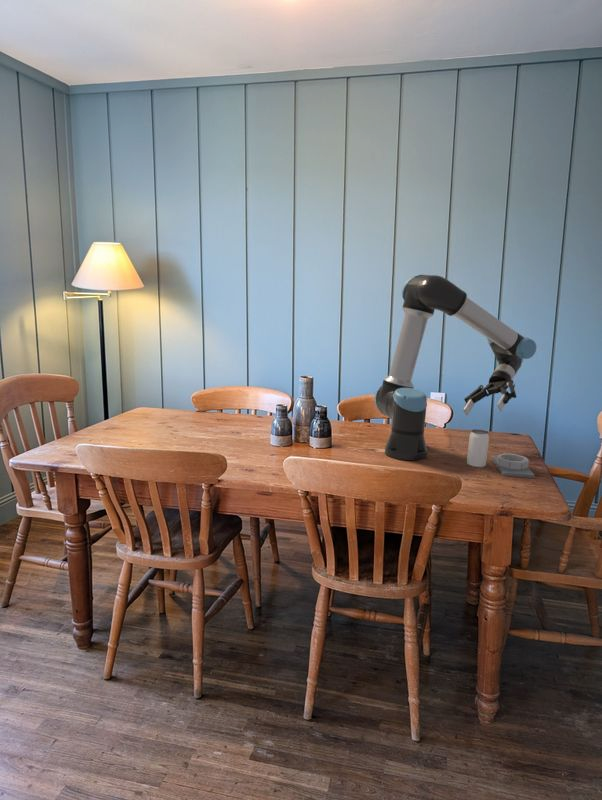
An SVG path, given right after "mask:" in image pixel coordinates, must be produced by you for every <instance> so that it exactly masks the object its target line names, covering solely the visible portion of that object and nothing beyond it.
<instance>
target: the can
mask: <svg viewBox="0 0 602 800" xmlns="http://www.w3.org/2000/svg"><path fill="white" fill-rule="evenodd" d="M470 431H471V432H470V433H469V437H468V438H469V439H468V448H467V454H466V455H467V458H466V464H467V465H468V466H470V467H474V468H485V467H486V465H487V460H488V459H487V458H488V450H489V442H490V436H489V431H487V430H484V429H478V428H477V429H476V428H475V429H472V430H470Z"/></svg>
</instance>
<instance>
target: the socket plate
mask: <svg viewBox="0 0 602 800" xmlns="http://www.w3.org/2000/svg"><path fill="white" fill-rule="evenodd" d="M491 459H492V461H493V462H494V464H495V466H496V467H497V469H498V471H499V472H500V473H501V475H502V476H504V477H515V478H524V479H525V478H526V479H535V473H533V472H532V470H531V469H530V468H529V463H530V460H529V459H528V458H527V457H526V456H523V455H520V454H515V453H500V454H497V455H493V454H492V455H491Z"/></svg>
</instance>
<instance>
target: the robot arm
mask: <svg viewBox="0 0 602 800" xmlns="http://www.w3.org/2000/svg"><path fill="white" fill-rule="evenodd" d="M401 289H402V290H401V296H402V300H403V305H402V310H403V313H404V317H403V321H402V325H401V328H400V332H399V336H398V340H397V343H396V347H395V352H394V355H393V358H392V362H391V366H390V369H389V374H388V375H387V376H386V377H385V378H383V381H382V384H381V386H380V387H378V388H377V389H376V391H375V392H374V393H375V394H374V399H373V401H374V405H375V407H376V409H377V410H378V411H379V412H380V413H381V414H382V415H384V416H385V417H388V418H389V419H391V430H390V431H391V432H390V434H389V436H388V439H387V442H386V443H385V446H384V454H385V455H386V456H389V457H390V458H392V459H397V460H402V461H420V460H424V459H426V458H427V457H428V447H427V443H426V440H425V426H426V425H425V424H426V414H427V406H428V403H427V401H428V399H427V398H428V397H427V395H426V393H424V391H422V390H420V389H415V388H414V387H415V386H414V384H413V382H412V379H413V375H414V372H415V368H416V364H417V362H418V361H417V360H418V357H419V353H420V349H421V346H422V342H423V339H424V335H425V332H426V331H425V330H426V328H427V323H428V319H430V318H431V317H433V316H434V313H435V310H436V311H440V312H442V313H444V314H446V315H447V316H449V317H452V316H454V317H456V318H457V319H459V320H460V321H461V322H463V323H464V324H466V325H467V326H469V327H471V328H472V329H474V330H475V331H476V332H478V333H479V334H481V335H482V336H484V337H486V340H487V343H488V345H489V347H490V348H491V351H492V352H493V355H494V357H495V358H496V361H497V366H496V368H495V369H494V370H493V373H492V374H491V375H490V377H489V379H488V383H487V385H486V386H484V385H483V384H480V385H479V386H478V387H477V388H476V389H474V391H472V392H471V393H469V395H467V396H466V397H464V399H463V400H464V402H465V404H464V408H463V409H462V410H463V412H464V414H465V415H466V416H469V414H470V412H472V409H473V408H474V407H475V404H476V403H477V402H480V401H481V400H483V399H484V398H486V397H490V396H492V395H495V394H499V393H501V397H500V399H499V400H498V402H497V403H496V406H497V408H498V411H499V412H502V411H503V409H504V408H505V406H506V404H508V403H509V401H510V400H512V398H513V399H516V398H517V393H516V390H515V388H516V387H515V386H516V384H515V382H514V380H513V379H514V378H515V377H516V375H517V373H518V372H519V370H520V368H521V367H522V364H523V362H524V359H525V360H528V359H531V358H532V357H534V355H535V354H536V352H537V343H536V341H534V339H532V338H529V337H525V336H523V335H521V334H520V333H519V332H517V331H515V330H514V329H513V328H511V327H510V326H508V325H507V324H506V323H504V322H503V321H502V320H500V319H499V318H497V317H495V316H494V315H493V314H491V313H490V312H489V311H488V310H485V309H484V308H483V307H482V306H480V305H478V304H477V303H476V302H474V301H473V300H472V299H470V298H468V294H467V292H466V291H465V290H462V289H461V288H460V287H458V286H457V285H455V284H454V283H453V282H451V281H450V280H448V279H447V278H445V277H443V276H441V275H438V274H435V275H433V274H432V275H431V274H418V275H414V276H412V277H411V276H410V277H409V278H408V279H407V280H406V281H405V282H404V284H403V286H402V288H401ZM508 388H509V390H508ZM509 391H510V392H509Z"/></svg>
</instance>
